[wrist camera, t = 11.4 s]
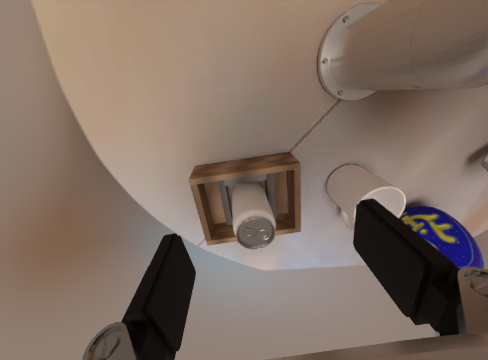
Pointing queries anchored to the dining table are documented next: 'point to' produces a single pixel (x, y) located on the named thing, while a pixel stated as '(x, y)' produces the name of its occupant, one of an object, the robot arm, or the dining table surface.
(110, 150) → the dining table surface
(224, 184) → the bin
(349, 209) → the mug
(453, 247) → the ornament
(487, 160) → the mug
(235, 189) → the can
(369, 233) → the robot arm
